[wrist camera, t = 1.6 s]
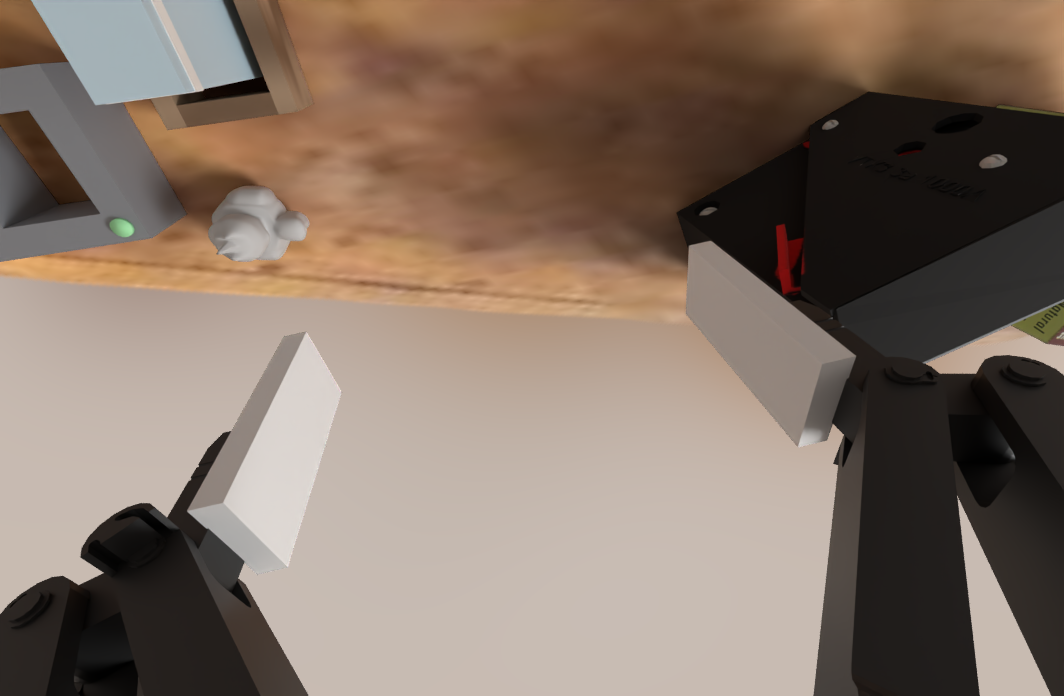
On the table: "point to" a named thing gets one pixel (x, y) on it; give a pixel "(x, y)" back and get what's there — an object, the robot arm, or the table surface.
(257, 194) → the rubber duck
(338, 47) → the table surface
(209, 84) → the plug
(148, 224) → the port
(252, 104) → the holster
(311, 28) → the table surface
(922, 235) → the electrical component
